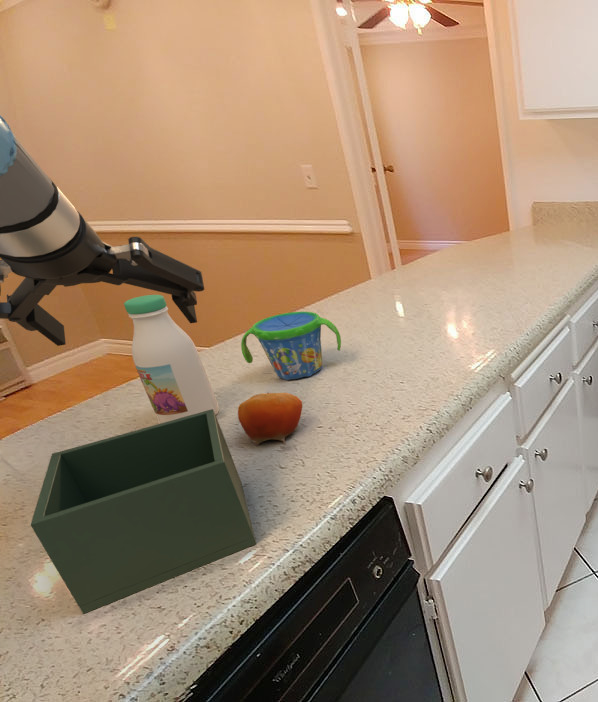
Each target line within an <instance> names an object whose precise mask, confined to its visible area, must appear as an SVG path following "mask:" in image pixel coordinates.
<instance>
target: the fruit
mask: <svg viewBox="0 0 598 702" xmlns="http://www.w3.org/2000/svg"><path fill="white" fill-rule="evenodd" d="M302 411H303V401H302V400H301V399H300V398H299V397H298V396H297V395H294V394H293V393H288V392H267V393H265V392H263V393H257V394H254V395H252V396H250V397H249V398H248V399H246V400H245V401H243V402H241V403H240V404H239V405H238V408H237V418H238V421H239V423H240V425H241V427H242V430H243V431H244V433H245V434H246V435H247V436H248V437H249V439H250V441H252V442H253V443H254V444H255V445H256V446H258V445H259V444H261V443H263V442H265V441H269V440H275V441H281V442H283V444H284V445H287V443H286V440H285V439H286V437H288V436H289V435H291V434H292V433H294V432H295V431H296V429H297V427H298V426H299V422H300V420H301V417H302Z"/></svg>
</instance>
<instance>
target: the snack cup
mask: <svg viewBox="0 0 598 702" xmlns="http://www.w3.org/2000/svg"><path fill="white" fill-rule="evenodd" d="M322 325H324V326H326V327H327V328H328V329H329V330H330V331H331V332H332V333H334V335H335V337H336V343H337V349H336V350H337V351H341V346H342V337H341V334H340V332H339V330H338V328H337V326H336V325H335V324H334V323H333V322H332V321H330V320H329V319H327V318H324V317H321V316H320V315H319V314H318V313H315V312H313V311H292V312H285V313H279V314H274V315H271V316H268V317H265V318H262V319H261V320H259V321H257V322H255V323H254V324H253V325H252V326H251V327H250V328H249V329H248V330H247V331H246V332H245V334H243V336H242V339H241V344H240V345H241V347H240V348H241V354H242V356H243V358H244V361H246V363H248V364H252V363H253V361H254V358H253V355H252V354H251V351H250V349H249V348H248V346H247V340H248V339H247V338H248V337H249V335H253V336H254V337H255V338H256V339H258V341H259V343H260V345H261V347H262V349H263V351H264V353H265V356H266V357H267V359H268V361H269V363H270V365H271V367H272V368H273V370H274V373H275V374H276V375H277V377H278V378H279V379H283V380H286V381H289V380H298V379H301V378H304V377H311V376H312V375H314V374H317V373H318V372H319V371H320V370H321V369H323V367H324V366H323V363H324V362H323V352H322V340H321V337H322V335H321V334H322Z"/></svg>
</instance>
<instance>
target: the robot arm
mask: <svg viewBox="0 0 598 702" xmlns="http://www.w3.org/2000/svg"><path fill="white" fill-rule="evenodd" d="M11 128H12V127H11V126H10V125H9V123H8V122H7V121H6V120H5V118H4V117H3V116H2V115H0V284H3V283H4V282H5V279H7V278H8V277H9V274H10V273H13V274H15V275H17V276H19V277H23V280H22V281H21V282H20V283H19V285H18V286H17V287H16V288H15V290H14V291H13V292H12V293H11V294H10V295H9V294H6V302H5V301H4V302H3V301H2V302H1V301H0V320H8V321H9V322H11V323H17V324H18V325H19V326H20V327H22V328H23V329H25V330H26V331H29V332H35V331H37V332H38V333H40V334H41V335H43V336H44V337H45V338H46V339H48V340H49V341H51V343H53V344H54V345H55V346H57V347H60V346H66V344H67V343H66V333H65V325H64V324H62V323H61V322H60V321H59V320H58V319H57V318H55V317H54V316H53V315H51V314H50V313H49V312H48V311H47V310H45V309H44V307H42V306H40V305H39V303H40V302H41V301H42V299H43V298H44V297H45V296H49V295H50V294H51V293H52V292H53V291H54V290H55V288H56V287H57V286H63V287H65V288H67V287H74V286H78V285H81V284H96V283H97V284H98V283H106V284H111V285H115V286H121V285H123V284H126V285H130V286H134V287H138V288H142V289H145V290H146V289H147V290H150V291H156V292H158V293H163V294H167V295H170V296H171V300H172V302H173V303H174V304H175V306H176V307H177V308H178V309H179V311H180V312H181V313H182V315H183V316H184V318H186V320H187V321H188V322H189V324H195V323H198V319H197V318H198V317H197V313H196V307H195V306H197V305H198V299H197V295H196V292H204V290H205V285H204V284H205V283H204V280H203V279H204V278H203V273H202V271H201V270H199V269H197V268H195V267H193V266H190V265H189V264H186V263H185V262H183V261H180V260H178V259H176V258H174V257H172V256H170V255H168V254H165V252H164V253H163V252H161V251H160V250H157V249H155V248H153V247H151V246H150V245H149V244H148V243H147V242H146V241H144V239H143V238H141V237H140V236H131V237H130V236H129V238H128V239H127V240H128V243H127V244H122V245H116V246H113V245H111V244H108V243H107V242H104V241H103V240H102V239H101V238H100V237H99V235H98V233H97V232H96V231H95V230H94V229H93V227H92V226H91V225H90V224H89V223H88V221H87V220H86V219H85V217H84V216H83V215H82V214H81V213H80V212H79V211H78V210H77V209H76V208H75V206H74V205H73V204H72V203H71V201H70V199H68V197H67V196H66V195H65V194H64V193H63V192H62V191H61V190H60V188H59V187H58V186H57V185H56V184H55V182H54V181H53V180H52V179H51V177H49V176H48V174H47V173H46V172H45V171H44V170H43V169H42V168H41V166H40V165H39V164H38V163H37V161H36V160H35V159H34V157H32V155H31V154H30V153H29V151H28V150H27V149H26V147H24V145H23V144H22V143H21V141H20V140H19V139H18V138H17V137H16V135H15V134H14V132H13V131H12V129H11ZM1 287H2V286H1V285H0V295H2V294H1V292H2V288H1Z"/></svg>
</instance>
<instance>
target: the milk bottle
mask: <svg viewBox="0 0 598 702" xmlns="http://www.w3.org/2000/svg"><path fill="white" fill-rule="evenodd" d="M123 306H124V309H125V310H126V312H127V314H128V317H129V318H131V320H132V323H133V335H132V336H133V337H132V342H131V356H132V361H133V364H134V366H135V368H136V371H137V375H138V376H139V378H140V381H141V383H142V386H143V388H144V391H145V393H146V395H147V398H148V400H149V402H150V405H151V407H152V409H153V411H154V414H155V416H156V418H157V421H158V422H159V423H158V424H161V423H164V422H168V421H172V420H175V419H179V418H182V417H186V416H190V415H193V414H197V413H200V412H204V411H207V410H211V409H214V412H215V415H216V416H217V415H218V413H219V409H220V406H219V404H218V401H217V398H216V394H215V392H214V389H213V387H212V384H211V382H210V379H209V377H208V374H207V371H206V368H205V366H204V363H203V361H202V359H201V356H200V353H199V351H198V349H197V347H196V345H195V343H194V341H193V340H192V338H191V337H190V336H189V334H188V333H186V332H185V330H183V328H181V326H179V325H178V324H177V323H176V322H175V321H174V320H173V318H172V317H171V316H170V314H169V312H168V310H169V307H168V306H167V301H166V298H165V297H164V296H163V295H161V294H149V295H147V294H146V295H141V296H136V297H133V298H130V299H128V300H126V301H125V302H124V303H123Z"/></svg>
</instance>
